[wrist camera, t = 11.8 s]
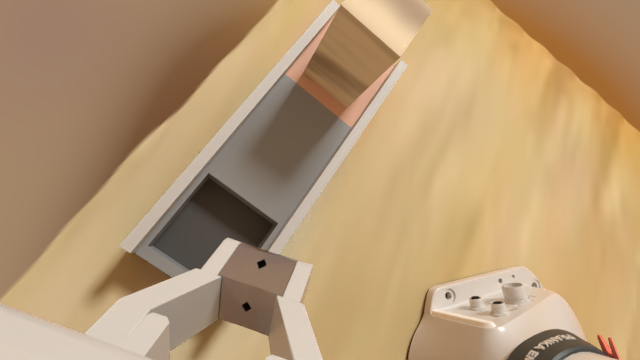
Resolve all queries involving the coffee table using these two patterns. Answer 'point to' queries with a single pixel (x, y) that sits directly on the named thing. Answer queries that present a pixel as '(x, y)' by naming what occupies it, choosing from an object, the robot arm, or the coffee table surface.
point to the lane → (260, 165)
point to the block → (363, 44)
